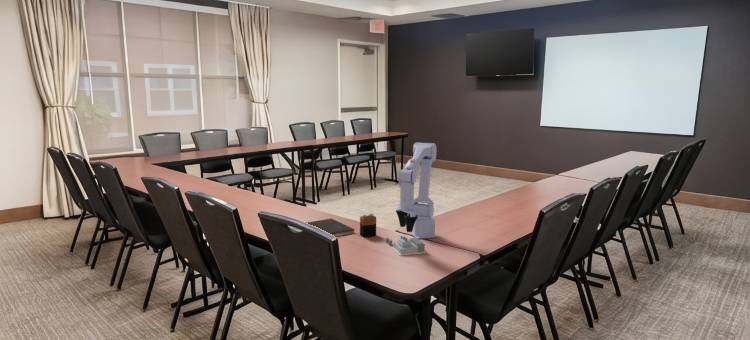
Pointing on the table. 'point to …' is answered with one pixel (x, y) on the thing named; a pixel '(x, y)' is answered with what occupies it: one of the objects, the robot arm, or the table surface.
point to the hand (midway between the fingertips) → (406, 229)
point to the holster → (391, 240)
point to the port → (410, 248)
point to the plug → (405, 242)
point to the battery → (368, 225)
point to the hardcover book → (332, 227)
